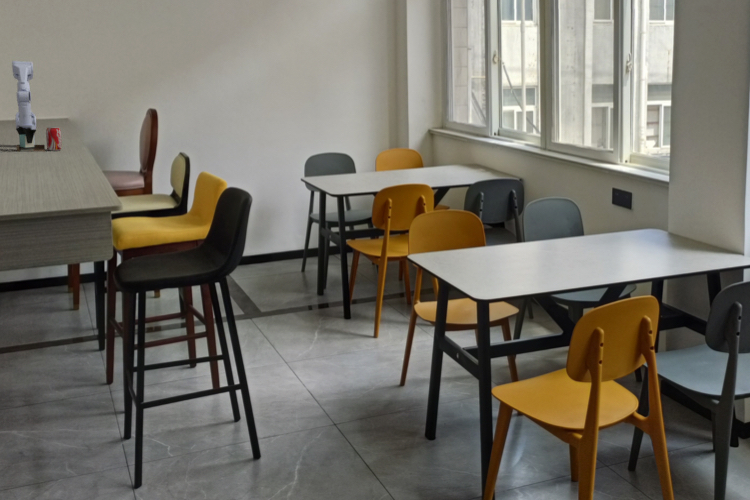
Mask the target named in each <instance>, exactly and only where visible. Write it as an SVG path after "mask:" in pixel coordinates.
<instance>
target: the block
mask: <svg viewBox="0 0 750 500" xmlns="http://www.w3.org/2000/svg"><path fill="white" fill-rule="evenodd" d="M18 136H19V138H18V139H19V144H20V147H24V148H28V147H35V146H34V138H35V135H34V136H33V141H32V143H27V139H26V134H24V135H19V134H18Z"/></svg>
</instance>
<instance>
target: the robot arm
mask: <svg viewBox="0 0 750 500" xmlns="http://www.w3.org/2000/svg"><path fill="white" fill-rule="evenodd" d="M11 66H12V75H13V78H14V79H15V80H16V81H17V84H16V85H17V86H16V88H17V92H16V101H17V108H18V112H16V113H15V130H16V132H17V133H18V136H19V135H24V134H26V139H27V143H32V141H33V136H34V145H37V144H36V142H35V139H36V138H35V134H36V132H37V130H36V129H37V118H36V114H35V113H34V112H33V111H32V105H31V103H32V92H31V87H30V81H31V80H32V79H34V63H33V61H23V60H22V61H20V60H12V61H11ZM18 145H20V143H19V144H18Z"/></svg>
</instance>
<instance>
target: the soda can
mask: <svg viewBox="0 0 750 500" xmlns="http://www.w3.org/2000/svg"><path fill="white" fill-rule="evenodd" d="M45 137H46V138H45V139H46V147H47V150H48V151H50V152H59V151H61V150H62V148H63V147H62V132H61V128H60V126H55V125H54V126H47V127H46V129H45Z"/></svg>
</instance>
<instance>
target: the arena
mask: <svg viewBox="0 0 750 500" xmlns="http://www.w3.org/2000/svg"><path fill="white" fill-rule="evenodd" d="M34 146H35V147H28V148H24V147H20V145H19V144H16V146H15V147H16V152H45V151H46V148H45V146H46V145H45V144H36V145H34Z"/></svg>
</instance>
